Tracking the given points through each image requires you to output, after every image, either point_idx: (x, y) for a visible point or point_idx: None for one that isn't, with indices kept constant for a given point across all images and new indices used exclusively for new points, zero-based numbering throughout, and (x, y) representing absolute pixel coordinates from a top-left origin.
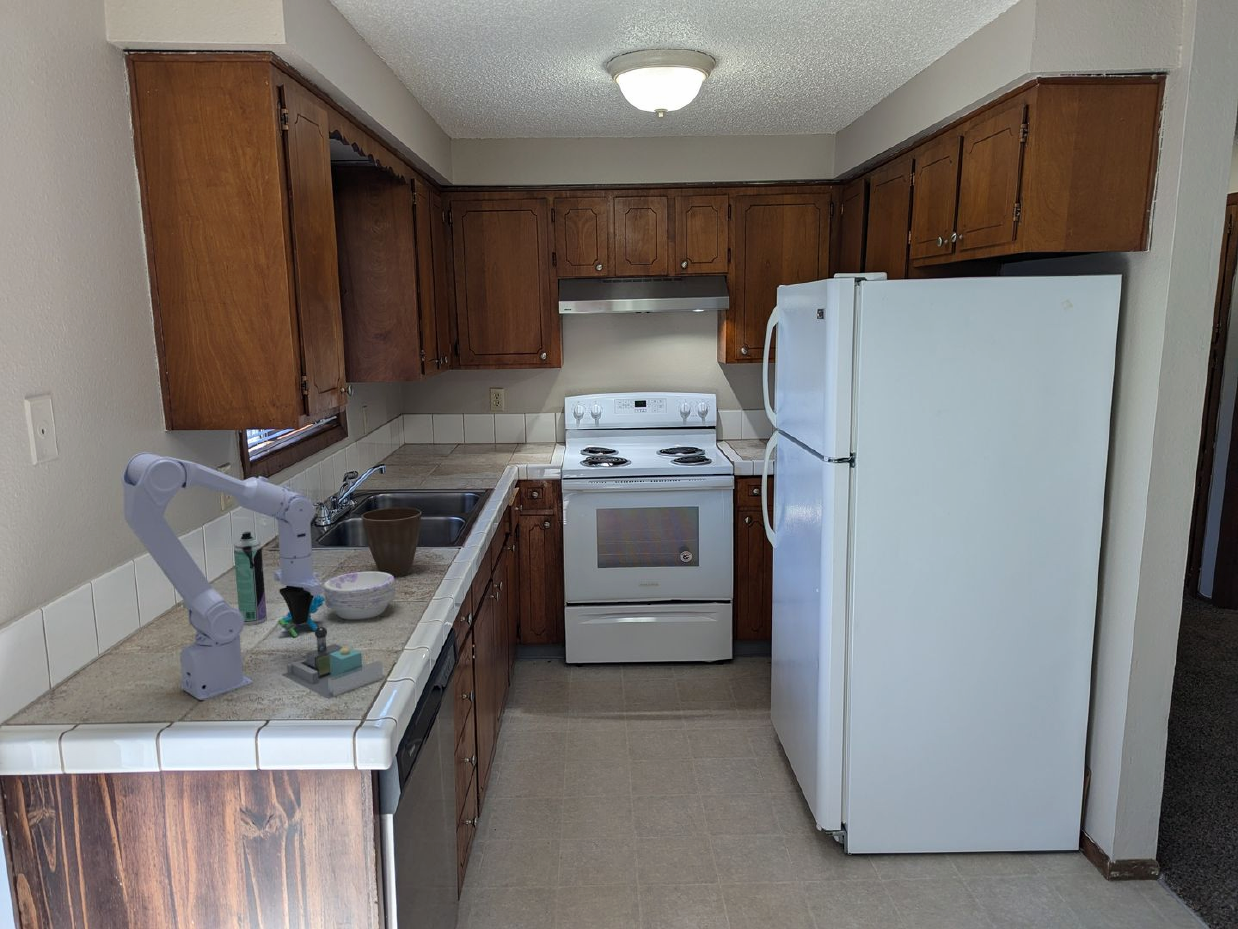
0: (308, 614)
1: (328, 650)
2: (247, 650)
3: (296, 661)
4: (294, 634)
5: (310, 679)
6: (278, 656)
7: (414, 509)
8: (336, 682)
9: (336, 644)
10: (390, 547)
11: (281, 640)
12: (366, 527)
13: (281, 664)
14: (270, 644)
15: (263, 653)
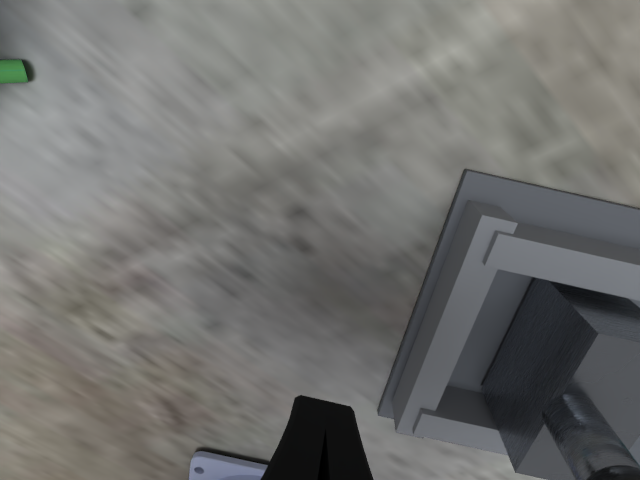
0: (364, 457)
1: (622, 414)
2: (25, 298)
3: (423, 415)
4: (9, 79)
5: None
6: (195, 290)
7: None
8: None
9: (617, 338)
10: None
11: (14, 145)
12: None
13: (282, 340)
14: (28, 208)
15: (110, 293)
